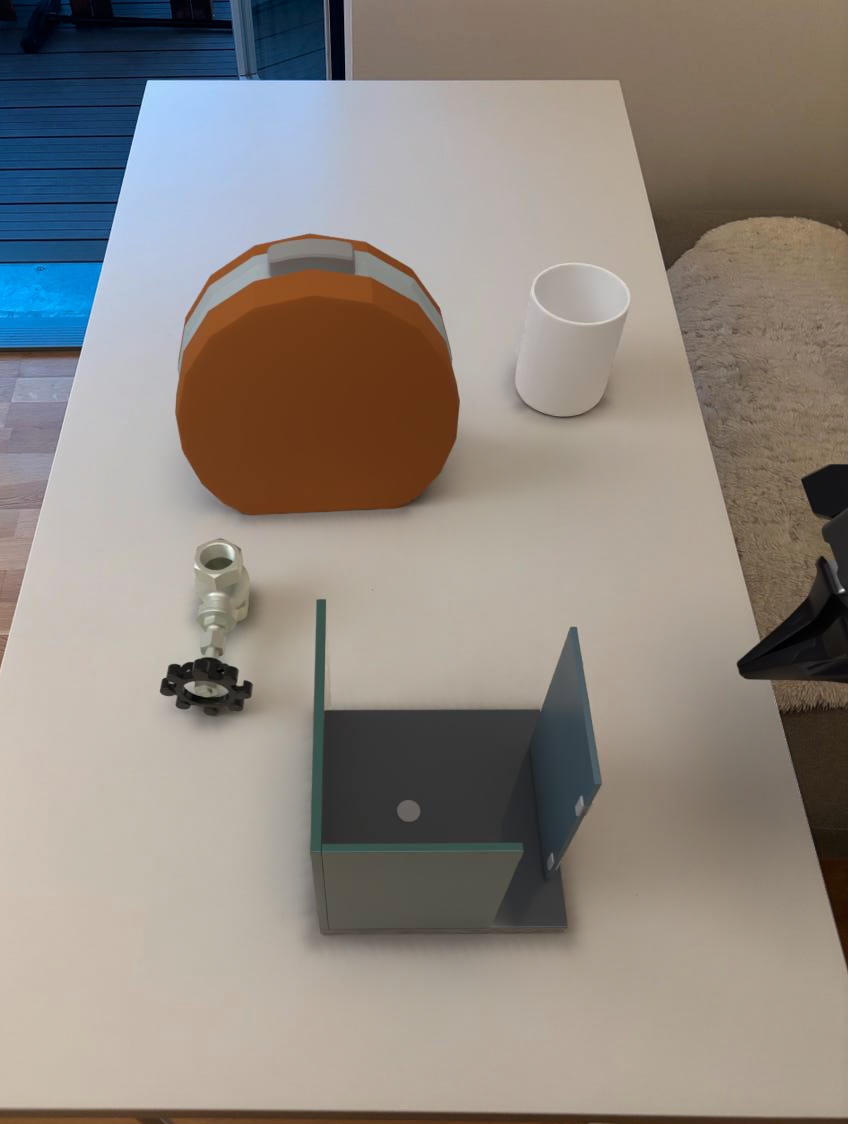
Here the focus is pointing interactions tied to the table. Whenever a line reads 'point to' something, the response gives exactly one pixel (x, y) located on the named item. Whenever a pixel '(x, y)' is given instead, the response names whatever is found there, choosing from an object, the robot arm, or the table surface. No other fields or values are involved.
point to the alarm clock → (315, 380)
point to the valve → (214, 631)
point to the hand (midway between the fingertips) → (740, 671)
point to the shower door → (564, 756)
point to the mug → (570, 337)
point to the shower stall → (425, 819)
